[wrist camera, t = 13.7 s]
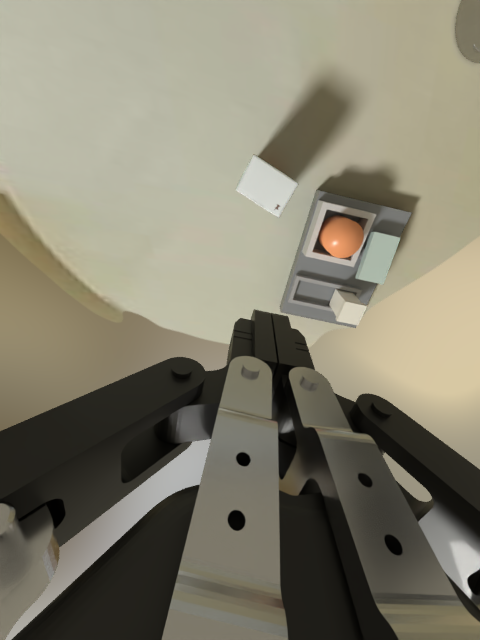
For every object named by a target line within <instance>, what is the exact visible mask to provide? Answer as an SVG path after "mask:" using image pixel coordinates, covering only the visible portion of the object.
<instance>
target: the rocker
mask: <svg viewBox="0 0 480 640" xmlns="http://www.w3.org/2000/svg"><path fill="white" fill-rule="evenodd" d="M399 241H400V238H399V237H395V236H391V235H387V234H382V233H378V232H371V233H370V235H369V238H368V241H367V244H366V247H365V250H364V253H363V256H362V259H361V262H360V265H359V268H358V271H357V274H356V277H355V278H356V279H360V280H364V281H369V282H373V283H378V284H382V285H383V284H384V281H385V279H386V276H387V273H388V271H389V268H390V265H391V262H392V260H393V257H394V254H395V252H396V249H397V246H398V244H399Z"/></svg>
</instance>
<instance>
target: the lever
mask: <svg viewBox="0 0 480 640" xmlns="http://www.w3.org/2000/svg"><path fill="white" fill-rule="evenodd" d="M329 305H330V307H331V308H332V310H333V312H334V313H335V315H336V321H338V322H343V323H348V324H353V325H357V326H358V324H359V322H360V320H361V318H362V316H363V314H364V312H365V310H366V308H367V305H366V304H363V303H361V301H360V300H359V299H358V298H357V297H356V296H355V295H354V293H353V292H349V291H344V290H340V289H335V291H334V294H333V296H332V298H331V301H330V303H329Z"/></svg>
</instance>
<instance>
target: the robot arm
mask: <svg viewBox="0 0 480 640" xmlns="http://www.w3.org/2000/svg"><path fill="white" fill-rule="evenodd" d="M455 31H456V40H457V44H458V47H459V49H460V51H461V53H462V54H463V55H464V56H465V57H466V58H467V59H468V60H470V61H473V62H476V63H480V0H462V1H461V3H460V6H459V10H458V13H457V18H456V26H455ZM206 439H211V442H210V446H209V450H208V454H207V458H206V463H205V466H204V470H203V474H202V478H201V483H200V485H196V486H192V487H188V488H185V489H183V490H181V491H178V492H176V493H174V494H172V495H170V496H168V497H167V498H165V499H164V500H163V501H161V502H160V503H158V504H157V505H156V506H155V507H153V508H152V509H151V510H150V511H149V512H148V513H147V514H146V515H145V516H143V517H142V518H141V519H140V520H139V521H138V522H137V523H136V524H135V525H134V526H133V527H132V528H131V529H130V530H129V531H128V532H126V533H125V534H124V535H123V536H122V537H121V538H120V539H119V540H118V541H117V542H116V543H115V544H113V545H112V546H111V547H110V548H109V549H108V550H107V551H106V552H105V553H104V554H103V555H102V556H101V557H100V558H98V559H97V560H96V561H95V562H94V563H93V564H92V565H91V566H90V567H89V568H88V569H87V570H86V571H85V572H83V573H82V575H80V576H79V577H78V578H77V579H76V580H75V581H74V582H73V583H72V584H71V585H70V586H68V587H67V588H66V589H65V590H64V591H63V592H62V593H61V594H60V595H59V596H58V597H57V598H56V599H55V600H53V602H51V603H50V604H49V605H48V606H47V607H46V608H45V609H44V610H43V611H42V612H41V613H40V614H38V615H37V617H35V618H34V619H33V620H32V621H31V622H30V623H29V624H28V625H27V626H26V627H25V628H23V630H21V631H20V632H19V633H18V634H17V635H16V636H15V637H14V638H13V639H12V640H480V470H479V469H478V468H477V467H475V466H474V465H473V464H472V463H470V462H469V461H467V460H466V459H465V458H464V457H462V456H461V455H459V454H458V453H457V452H456V451H454V450H453V449H451V448H450V447H449V446H448V445H446V444H445V443H443V442H442V441H441V440H439V439H438V438H437V437H435V436H434V435H433V434H431V433H430V432H429V431H427V430H426V429H424V428H423V427H422V426H421V425H419V424H418V423H417V422H415V421H414V420H413V419H411V418H410V417H408V416H407V415H406V414H405V413H403V412H402V411H401V410H399V409H398V408H397V407H395V406H394V405H393V404H391V403H390V402H388V401H387V400H385V399H383V398H381V397H379V396H376V395H373V394H362V395H360V396H359V397H358V398H357V400H356V402H354V401H351V400H349V399H346V398H344V397H342V396H339V395H337V394H335V393H334V392H333V389H332V387H331V385H330V383H329V382H328V380H327V379H326V378H325V377H324V376H323V375H322V374H320V373H318V372H317V371H315V369H314V365H313V362H312V359H311V357H310V353H309V350H308V347H307V344H306V341H305V337H304V336H303V335H302V334H301V333H300V332H299V331H298V330H297V329H292V328H291V326H290V322H289V318H288V316H283V315H278V314H273V313H268V312H263V311H259V310H254V311H253V314H252V317H251V320H248V319H243V318H240V319H239V320H238V321H237V322H235V325H234V329H233V333H232V338H231V342H230V346H229V351H228V358H227V365H226V367H224V368H222V369H219V370H215V371H205V370H204V368H203V366H202V365H201V364H200V363H198V362H197V361H195V360H193V359H190V358H185V357H175V358H170V359H167V360H165V361H163V362H160V363H158V364H156V365H153V366H151V367H149V368H146V369H144V370H142V371H140V372H137V373H135V374H132V375H130V376H128V377H125V378H123V379H121V380H119V381H116V382H114V383H112V384H109V385H107V386H104V387H102V388H100V389H98V390H95V391H93V392H91V393H88V394H86V395H84V396H81V397H79V398H77V399H74V400H72V401H70V402H68V403H65V404H63V405H60V406H58V407H56V408H54V409H51V410H49V411H46V412H44V413H42V414H39V415H37V416H35V417H32V418H30V419H28V420H25V421H23V422H21V423H18V424H16V425H14V426H12V427H9V428H7V429H5V430H2V431H0V640H5V639H6V637H7V635H8V634H9V632H10V631H11V629H12V628H13V626H14V625H15V623H16V622H17V621H18V619H19V618H20V617H21V616H22V615H23V613H24V612H25V611H26V610H27V609H28V608H29V607H30V606H31V605H32V604H33V603H34V602H35V601H36V600H37V599H38V598H39V597H40V596H41V594H42V593H43V592H44V591H45V589H46V587H47V586H48V584H49V583H50V581H51V579H52V577H53V575H54V573H55V571H56V568H57V565H58V561H59V552H60V550H59V547H60V546H62V545H63V544H65V543H66V542H67V541H68V540H70V539H71V538H72V537H74V536H75V535H76V534H77V533H79V532H80V531H81V530H83V529H84V528H85V527H86V526H88V525H89V524H90V523H92V522H93V521H94V520H95V519H96V518H98V517H99V516H101V515H102V514H103V513H105V512H106V511H107V510H108V509H110V508H111V507H112V506H114V505H115V504H116V503H117V502H119V501H120V500H121V499H123V498H124V497H125V496H127V495H128V494H129V493H130V492H132V491H133V490H134V489H136V488H137V487H138V486H139V485H141V484H142V483H143V482H145V481H146V480H147V479H148V478H150V477H151V476H152V475H154V474H155V473H156V472H157V471H159V470H160V469H161V468H162V467H164V466H165V465H167V464H168V463H169V462H170V461H172V460H173V459H174V458H176V457H177V456H178V455H179V454H181V453H182V452H183V451H185V450H186V449H187V448H188V447H189V446H190V445H191V443H192V441H199V440H206ZM385 452H386V453H387V454H388V455H389V456H390V457H391V458H392V459H393V460H395V461H396V462H397V463H398V464H399V465H400V466H401V467H403V468H404V469H405V470H406V471H407V472H408V473H409V474H410V475H411V476H413V477H414V478H415V479H416V480H417V481H418V482H420V484H422V485H423V486H424V487H425V488H426V489H427V490H428V491H429V493H430V494H431V496H432V499H431V501H429V502H422V501H419V500H417V499H416V498H414V497H413V496H412V495H411V494H410V493H409V492H407V491H406V490H405V489H404V488H403V487H402V486H401V485H400V484H399V483H398V482H397V481H396V480H395V479H394V477H393V475H392V473H391V471H390V469H389V467H388V465H387V464H386V462H385V460H384V458H383V456H382V455H383V454H384V453H385Z"/></svg>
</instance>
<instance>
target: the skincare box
mask: <svg viewBox="0 0 480 640" xmlns="http://www.w3.org/2000/svg"><path fill="white" fill-rule="evenodd" d="M297 186H298V183H297V182H296V181H294V180H293V179H291V178H290V177H289V176H287V175H286V174H284V173H283V172H281V171H279V170H278V169H276V168H275V167H273V166H272V165H270V164H268V163H267V162H265V161H264V160H262V159H261V158H259V157H258V156H256V155H255V154H254V155H253V156H252V158H251V160H250V162H249V164H248V165H247V167H246V169H245V171H244V173H243V175H242V177H241V179H240V181H239V183H238V185H237V187H236V191H237V192H239V193H241V194H242V195H244V196H245V197H247V198H248V199H250V200H252V201H253V202H254V203H256V204H257V205H259V206H261V207H262V208H264V209H265V210H267V211H269V212H270V213H272V214H273V215H275V216H277V217H280V216H281V214H282V212H283V210H284V208H285V207H286V205H287V203H288V201H289V200H290V198H291V196H292V195H293V193H294V191H295V189H296V188H297Z"/></svg>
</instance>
